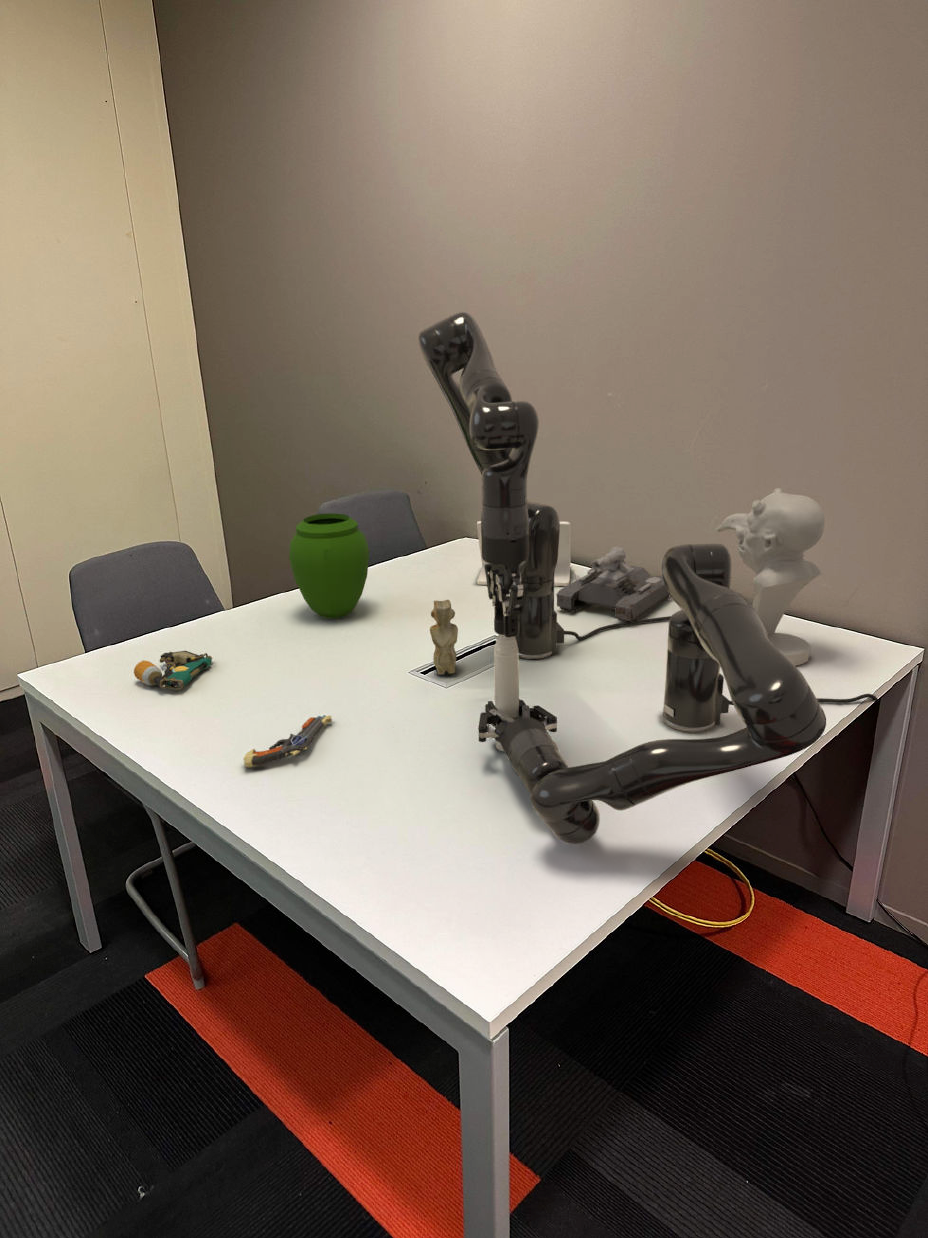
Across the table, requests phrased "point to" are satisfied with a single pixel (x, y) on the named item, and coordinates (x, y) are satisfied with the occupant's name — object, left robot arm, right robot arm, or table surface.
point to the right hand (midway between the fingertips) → (503, 704)
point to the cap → (499, 624)
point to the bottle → (506, 677)
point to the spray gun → (172, 669)
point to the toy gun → (288, 743)
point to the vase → (329, 563)
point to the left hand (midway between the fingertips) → (506, 631)
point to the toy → (615, 588)
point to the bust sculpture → (779, 558)
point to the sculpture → (444, 637)
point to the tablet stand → (562, 564)
